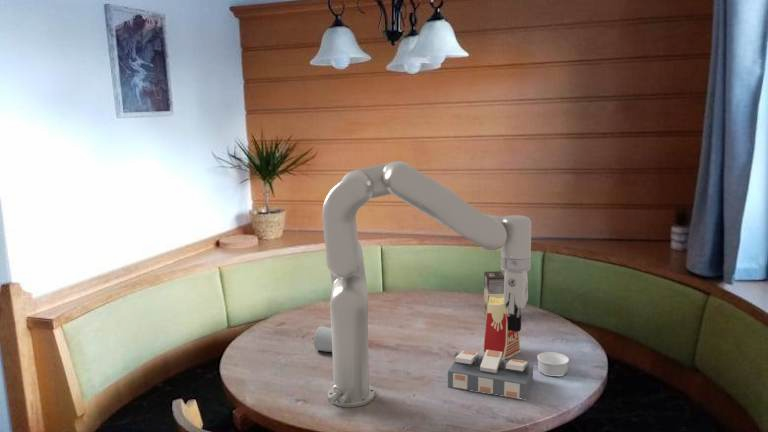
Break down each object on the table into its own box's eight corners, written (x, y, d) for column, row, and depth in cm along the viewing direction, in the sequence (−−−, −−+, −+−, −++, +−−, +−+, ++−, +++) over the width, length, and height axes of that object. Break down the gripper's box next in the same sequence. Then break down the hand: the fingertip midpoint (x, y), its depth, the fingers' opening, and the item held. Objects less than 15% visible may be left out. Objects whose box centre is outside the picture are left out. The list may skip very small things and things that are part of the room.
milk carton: (520, 351, 181) (522, 290, 178) (504, 361, 175) (506, 298, 171) (495, 344, 188) (496, 285, 184) (479, 353, 181) (480, 292, 177)
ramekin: (533, 365, 172) (534, 351, 171) (563, 365, 172) (564, 351, 171) (540, 378, 163) (541, 364, 162) (572, 378, 163) (573, 364, 162)
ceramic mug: (337, 357, 179) (336, 333, 178) (313, 353, 182) (313, 330, 181) (350, 344, 189) (349, 322, 188) (327, 341, 192) (327, 319, 191)
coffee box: (483, 312, 218) (483, 271, 215) (499, 311, 218) (500, 270, 215) (487, 320, 209) (487, 278, 206) (504, 320, 209) (505, 277, 206)
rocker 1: (470, 364, 158) (471, 359, 157) (454, 361, 159) (455, 356, 159) (477, 357, 165) (478, 352, 165) (462, 354, 167) (462, 350, 167)
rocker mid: (496, 373, 155) (496, 369, 155) (480, 370, 157) (479, 366, 157) (502, 355, 162) (502, 351, 162) (486, 353, 164) (486, 348, 163)
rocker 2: (522, 371, 152) (523, 365, 152) (505, 368, 154) (505, 363, 154) (527, 366, 159) (527, 361, 160) (510, 363, 161) (511, 358, 161)
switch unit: (524, 401, 150) (525, 375, 149) (447, 387, 158) (447, 363, 157) (532, 379, 162) (533, 355, 161) (460, 367, 170) (460, 345, 169)
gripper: (525, 271, 141) (524, 342, 145) (534, 257, 155) (532, 322, 158) (495, 269, 144) (494, 338, 147) (506, 255, 158) (505, 319, 161)
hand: (514, 329), depth 153 cm, fingers closed
